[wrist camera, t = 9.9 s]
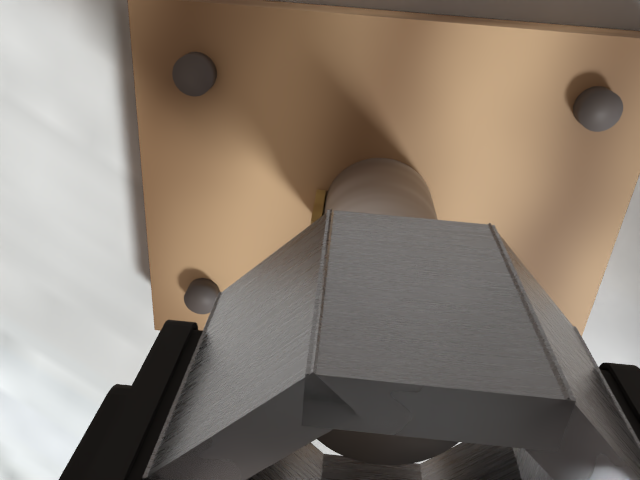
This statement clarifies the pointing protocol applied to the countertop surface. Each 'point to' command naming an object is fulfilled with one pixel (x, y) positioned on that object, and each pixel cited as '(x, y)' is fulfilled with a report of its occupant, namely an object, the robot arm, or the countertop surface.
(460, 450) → the grey hollow octagonal piece
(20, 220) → the countertop surface
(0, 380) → the countertop surface
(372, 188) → the shaft block
